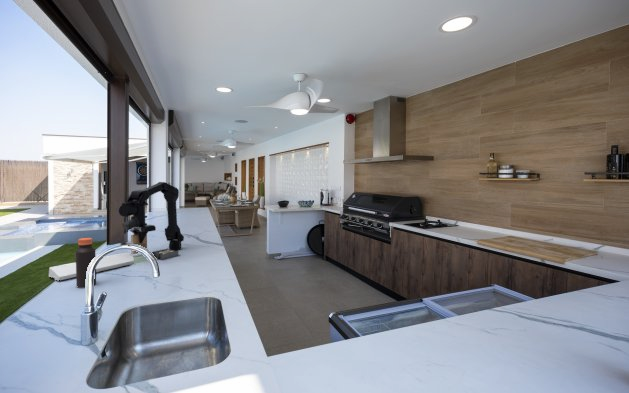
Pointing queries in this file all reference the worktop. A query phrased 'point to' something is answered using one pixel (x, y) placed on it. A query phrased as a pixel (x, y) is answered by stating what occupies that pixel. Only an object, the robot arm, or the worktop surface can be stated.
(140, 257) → the sage stand
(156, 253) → the offcut rack
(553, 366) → the worktop surface
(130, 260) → the decorative molding
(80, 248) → the bottle
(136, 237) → the walnut sheet
